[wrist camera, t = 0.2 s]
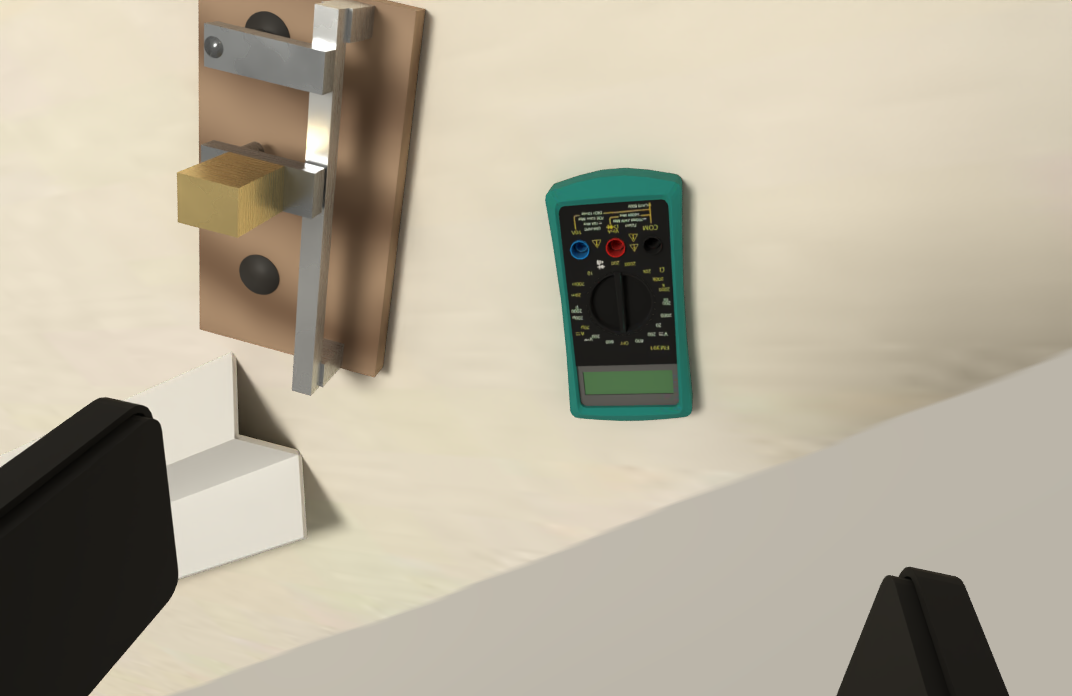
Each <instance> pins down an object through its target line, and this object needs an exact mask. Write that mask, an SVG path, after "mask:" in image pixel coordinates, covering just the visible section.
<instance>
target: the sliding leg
mask: <svg viewBox="0 0 1072 696" xmlns="http://www.w3.org/2000/svg"><path fill="white" fill-rule="evenodd" d="M324 174H325V168H323V167H319V166H315V165H311V164H307V163H303V162H299V161H295V160H291V159H287V158H284V157H280V156H276V155H272V154H268V153H264V148H263V146H262V145H261V144H260V143H258V142H251V143H248V144H246V145H243V146H241V147H240V146H236V145H232V144H228V143H224V142H220V141H216V140H212V141H210V142H207V143H204V144H201V163H199V164H197V165H195V166H192V167H190V168H187V169H185V170H182V171H180V172H177V196H178V222H179V223H183V224H187V225H190V226H194V227H198V228H202V229H206V230H209V231H213V232H217V233H221V234H225V235H228V236H232V237H236V238H238V237H240V236H242V235H243V234H245V233H247V232H249V231H250V230H252V229H254V228H255V227H257V226H259V225H260V224H262V223H264V222H265V221H267V220H269V219H270V218H272V217H274V216H276V215H277V214H279V213H281V212H282V211H283V212H287V213H290V214H294V215H298V216H302V217H306V218H310V219H313V218H314V217H316V216H317V215H319V214H320V213H322V203H323V188H324Z"/></svg>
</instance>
